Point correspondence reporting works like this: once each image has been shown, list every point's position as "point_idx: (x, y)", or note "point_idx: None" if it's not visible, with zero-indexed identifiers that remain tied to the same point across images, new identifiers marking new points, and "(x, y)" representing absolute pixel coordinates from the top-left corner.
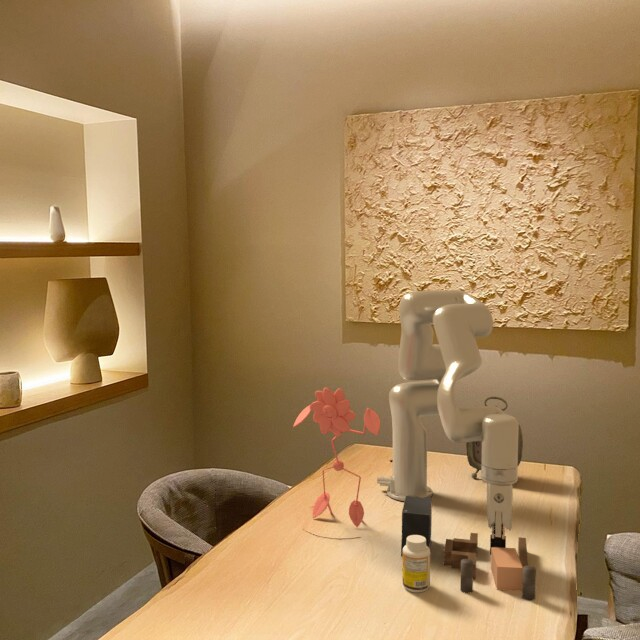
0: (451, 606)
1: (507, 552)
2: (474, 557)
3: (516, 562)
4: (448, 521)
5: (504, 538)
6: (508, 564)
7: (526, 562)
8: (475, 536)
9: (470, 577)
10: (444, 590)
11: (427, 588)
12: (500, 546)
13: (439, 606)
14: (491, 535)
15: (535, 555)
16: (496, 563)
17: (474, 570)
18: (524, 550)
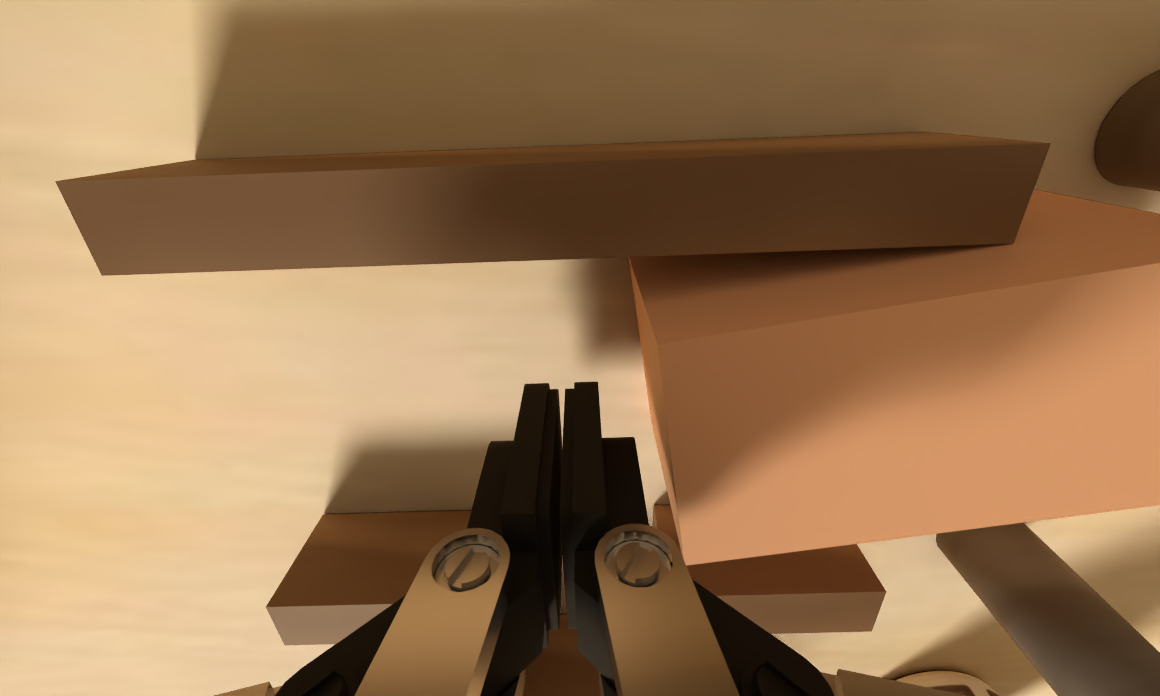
0: (1155, 576)
1: (800, 424)
2: (755, 602)
3: (1107, 322)
4: (39, 665)
5: (680, 552)
6: (1140, 407)
7: (826, 171)
8: (340, 616)
9: (1107, 604)
10: (966, 613)
11: (983, 684)
12: (641, 493)
13: (1140, 617)
14: (543, 641)
15: (225, 47)
16: (1085, 511)
17: (861, 554)
18: (473, 198)
